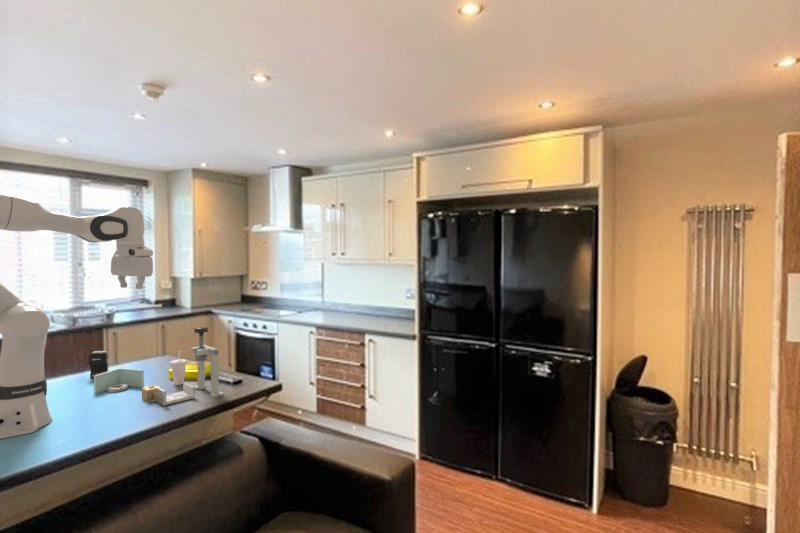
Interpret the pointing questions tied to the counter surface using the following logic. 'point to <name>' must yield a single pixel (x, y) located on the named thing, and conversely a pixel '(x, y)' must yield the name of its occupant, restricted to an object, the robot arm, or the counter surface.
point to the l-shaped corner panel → (118, 380)
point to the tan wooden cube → (149, 392)
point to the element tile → (193, 371)
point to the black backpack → (98, 362)
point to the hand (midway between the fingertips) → (131, 288)
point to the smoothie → (178, 370)
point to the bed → (174, 395)
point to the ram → (201, 342)
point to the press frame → (214, 369)
